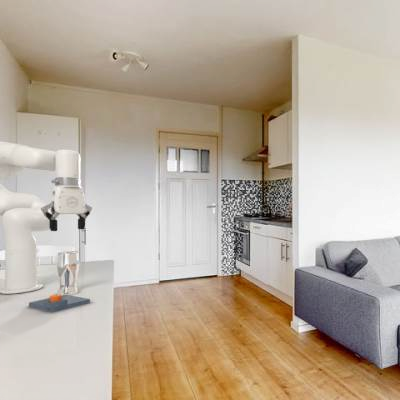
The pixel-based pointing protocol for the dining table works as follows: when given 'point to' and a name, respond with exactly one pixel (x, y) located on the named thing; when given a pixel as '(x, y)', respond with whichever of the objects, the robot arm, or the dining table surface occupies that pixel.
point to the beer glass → (67, 272)
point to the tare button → (55, 298)
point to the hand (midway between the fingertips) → (67, 230)
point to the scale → (59, 303)
